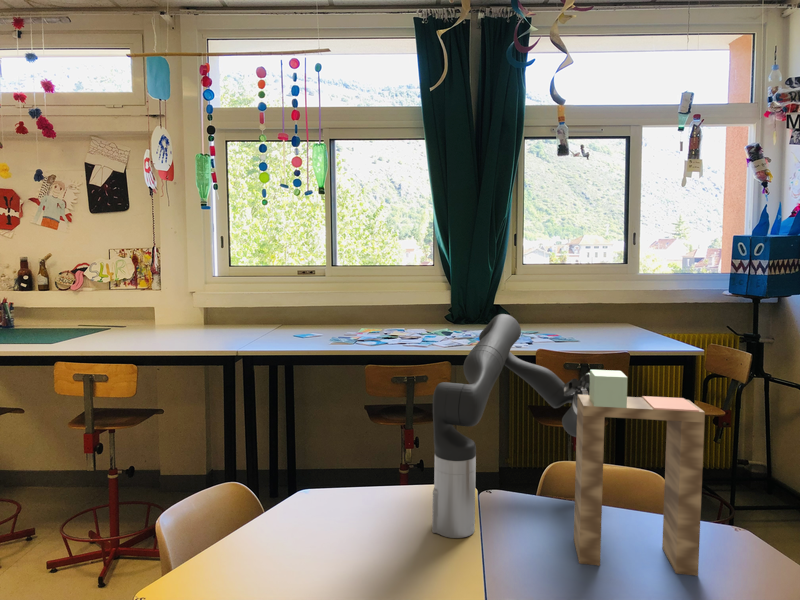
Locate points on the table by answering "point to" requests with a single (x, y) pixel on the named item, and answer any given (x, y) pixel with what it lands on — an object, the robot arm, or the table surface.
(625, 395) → the pale green bar
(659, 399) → the card
